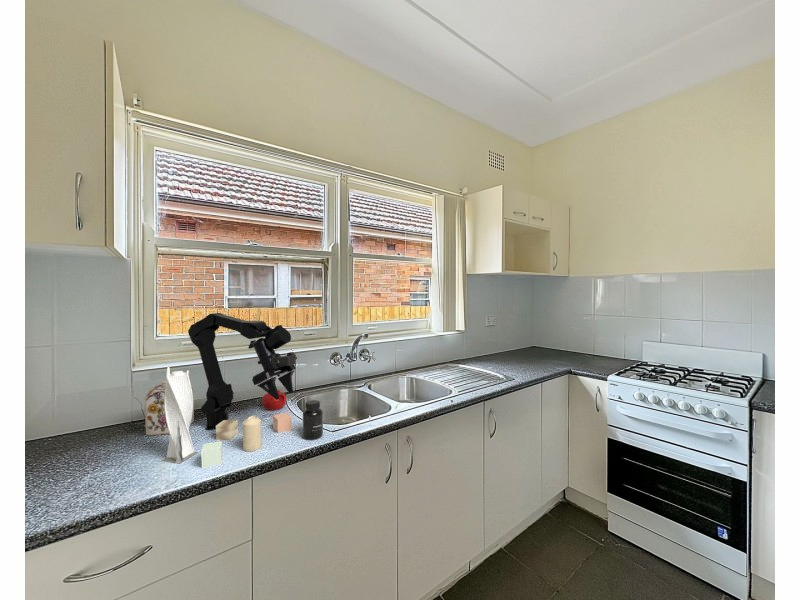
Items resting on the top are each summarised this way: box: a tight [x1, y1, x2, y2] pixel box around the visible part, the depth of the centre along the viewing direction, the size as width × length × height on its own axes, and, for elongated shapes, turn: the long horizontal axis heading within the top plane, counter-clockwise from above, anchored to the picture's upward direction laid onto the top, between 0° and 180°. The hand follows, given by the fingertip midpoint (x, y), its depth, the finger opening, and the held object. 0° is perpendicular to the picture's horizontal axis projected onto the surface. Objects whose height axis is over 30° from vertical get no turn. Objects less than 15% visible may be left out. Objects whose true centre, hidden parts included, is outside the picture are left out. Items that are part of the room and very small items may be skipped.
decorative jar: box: [144, 379, 195, 436], centre depth 129 cm, size 12×12×18 cm
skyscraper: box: [160, 366, 199, 465], centre depth 108 cm, size 8×8×28 cm
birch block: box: [215, 419, 239, 441], centre depth 122 cm, size 5×5×5 cm
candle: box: [242, 415, 263, 452], centre depth 113 cm, size 6×6×10 cm
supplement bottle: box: [302, 399, 324, 441], centre depth 121 cm, size 7×7×12 cm
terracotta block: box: [272, 412, 293, 434], centre depth 128 cm, size 5×5×5 cm
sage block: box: [200, 440, 223, 468], centre depth 104 cm, size 5×5×5 cm
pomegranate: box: [261, 389, 287, 411], centre depth 150 cm, size 10×10×9 cm
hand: (285, 395), depth 120 cm, fingers open, 9 cm apart
